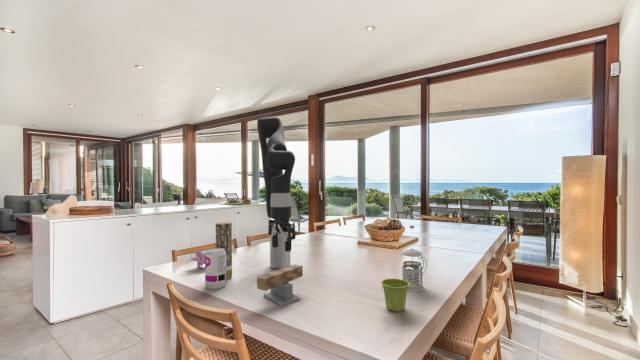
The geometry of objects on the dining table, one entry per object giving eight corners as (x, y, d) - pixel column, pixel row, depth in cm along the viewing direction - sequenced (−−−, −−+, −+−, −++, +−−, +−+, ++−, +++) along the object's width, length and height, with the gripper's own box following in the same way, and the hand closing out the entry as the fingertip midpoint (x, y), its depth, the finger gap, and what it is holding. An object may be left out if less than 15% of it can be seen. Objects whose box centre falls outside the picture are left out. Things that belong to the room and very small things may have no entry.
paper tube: (227, 281, 138) (227, 223, 138) (213, 280, 139) (212, 222, 139) (234, 276, 144) (234, 221, 144) (221, 275, 146) (220, 220, 146)
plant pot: (378, 303, 112) (377, 278, 112) (404, 302, 113) (404, 277, 113) (385, 314, 102) (385, 287, 102) (414, 313, 103) (414, 286, 103)
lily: (220, 270, 158) (220, 251, 163) (204, 266, 148) (204, 246, 153) (201, 275, 162) (201, 257, 166) (184, 272, 152) (184, 252, 156)
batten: (294, 274, 127) (294, 264, 127) (302, 276, 124) (302, 265, 124) (257, 288, 110) (257, 277, 110) (265, 290, 108) (265, 279, 108)
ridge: (281, 291, 125) (281, 276, 124) (299, 300, 115) (299, 283, 115) (263, 296, 119) (263, 280, 119) (281, 305, 110) (281, 288, 110)
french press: (394, 285, 131) (394, 224, 131) (417, 281, 135) (416, 222, 135) (410, 293, 122) (410, 227, 122) (434, 288, 126) (433, 225, 126)
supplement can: (207, 291, 126) (206, 252, 126) (204, 284, 133) (203, 248, 133) (228, 287, 129) (227, 250, 129) (224, 281, 137) (223, 246, 137)
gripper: (300, 205, 114) (301, 250, 114) (279, 203, 125) (279, 244, 125) (283, 207, 109) (283, 254, 109) (262, 204, 120) (262, 247, 120)
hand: (281, 249), depth 117 cm, fingers open, 8 cm apart
